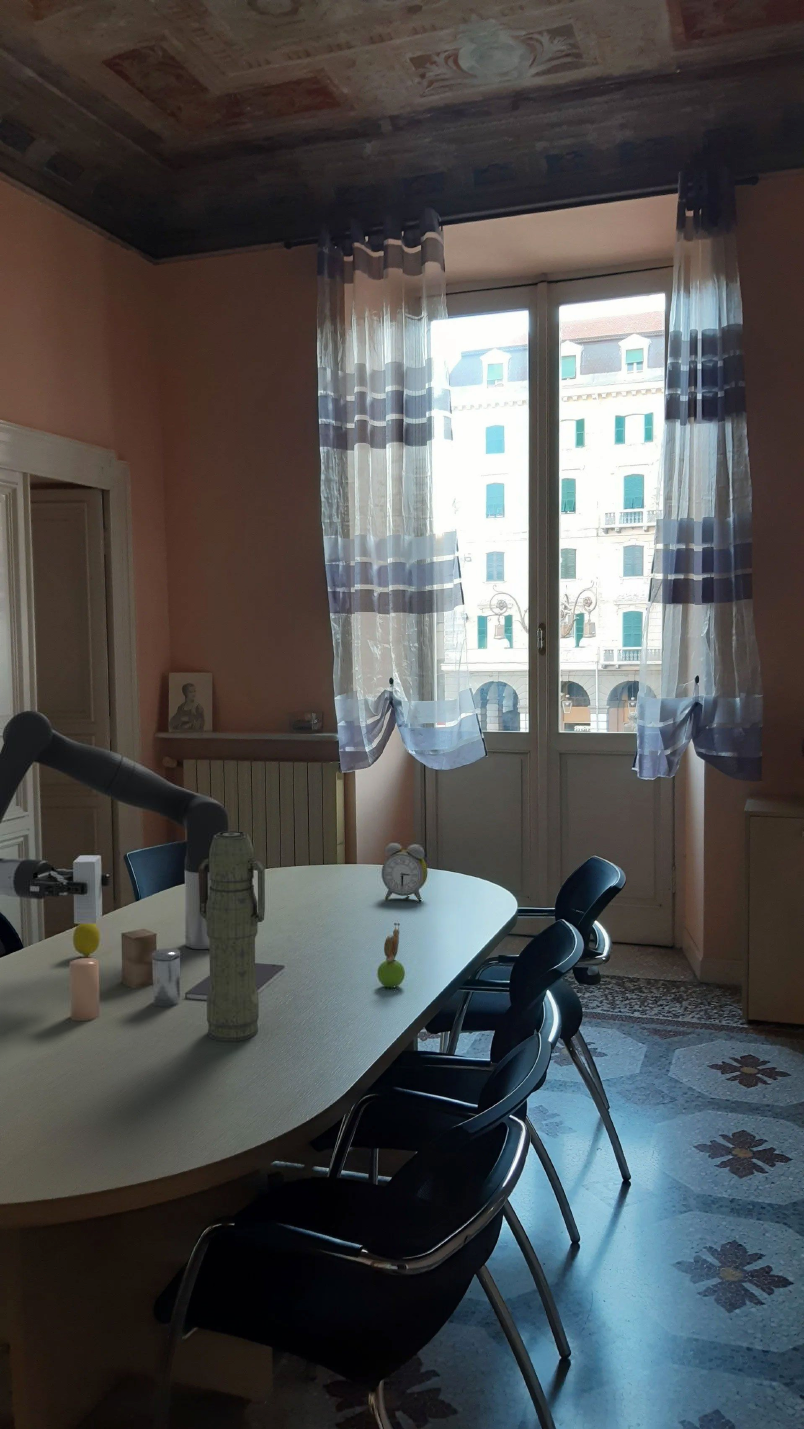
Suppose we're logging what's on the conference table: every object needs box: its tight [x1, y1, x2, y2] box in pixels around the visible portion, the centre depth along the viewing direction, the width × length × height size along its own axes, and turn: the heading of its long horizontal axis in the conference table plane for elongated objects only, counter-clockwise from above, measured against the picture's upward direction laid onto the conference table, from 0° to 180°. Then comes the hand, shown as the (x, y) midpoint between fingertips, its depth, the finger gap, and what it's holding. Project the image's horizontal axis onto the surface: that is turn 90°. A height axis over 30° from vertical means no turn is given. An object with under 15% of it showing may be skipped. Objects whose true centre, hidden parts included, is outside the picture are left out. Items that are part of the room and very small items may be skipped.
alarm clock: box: [381, 842, 428, 901], centre depth 281 cm, size 12×7×15 cm, turn 73°
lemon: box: [72, 923, 101, 958], centre depth 229 cm, size 6×6×8 cm
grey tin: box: [152, 948, 181, 1008], centre depth 199 cm, size 5×5×10 cm
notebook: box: [184, 962, 286, 1001], centre depth 211 cm, size 13×2×21 cm
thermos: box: [198, 830, 266, 1043], centre depth 183 cm, size 9×12×35 cm
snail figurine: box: [376, 922, 406, 988], centre depth 209 cm, size 5×6×12 cm
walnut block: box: [120, 928, 158, 989], centre depth 211 cm, size 5×5×10 cm
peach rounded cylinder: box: [69, 957, 100, 1022], centre depth 192 cm, size 5×5×10 cm
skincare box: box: [72, 854, 103, 925], centre depth 203 cm, size 6×4×12 cm
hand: (97, 884), depth 202 cm, fingers closed on skincare box, 7 cm apart
